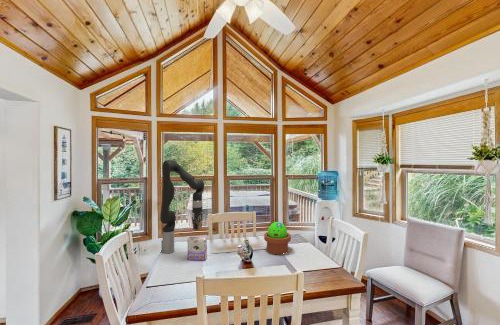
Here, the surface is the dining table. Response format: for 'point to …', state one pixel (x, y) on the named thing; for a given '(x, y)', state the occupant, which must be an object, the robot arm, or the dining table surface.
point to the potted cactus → (277, 238)
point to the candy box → (197, 248)
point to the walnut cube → (198, 226)
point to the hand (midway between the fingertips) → (197, 228)
